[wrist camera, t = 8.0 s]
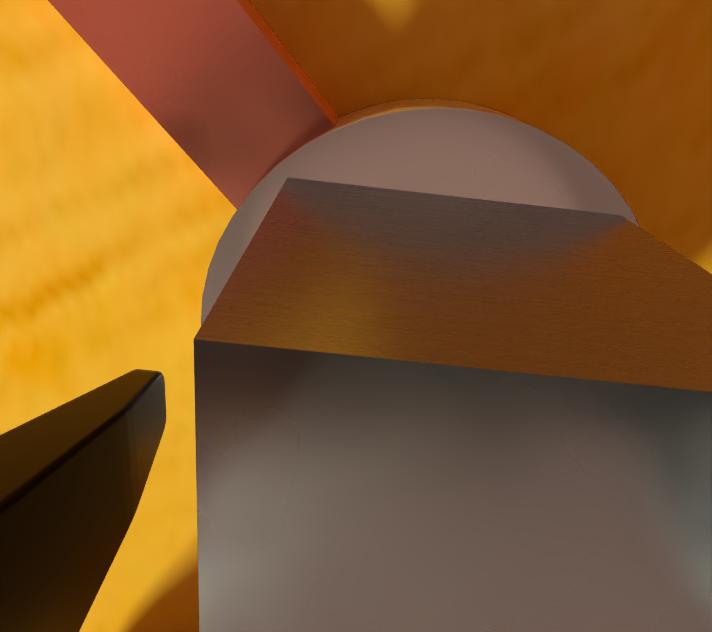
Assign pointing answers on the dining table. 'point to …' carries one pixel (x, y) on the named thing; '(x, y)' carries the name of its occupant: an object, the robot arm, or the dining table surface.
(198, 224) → the dining table surface
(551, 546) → the matte grey cube
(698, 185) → the dining table surface
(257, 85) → the pan with red handle
